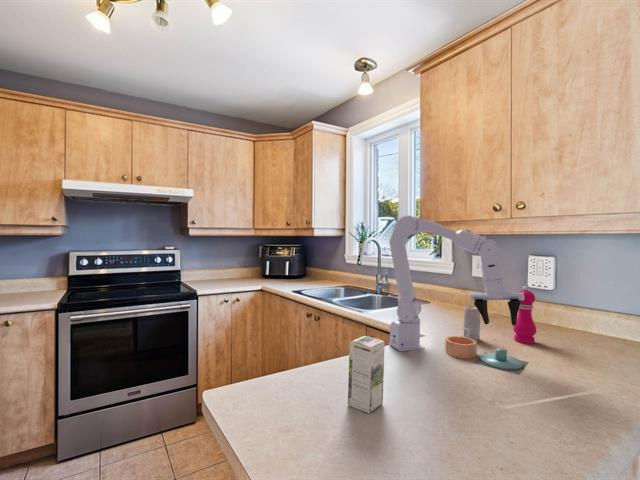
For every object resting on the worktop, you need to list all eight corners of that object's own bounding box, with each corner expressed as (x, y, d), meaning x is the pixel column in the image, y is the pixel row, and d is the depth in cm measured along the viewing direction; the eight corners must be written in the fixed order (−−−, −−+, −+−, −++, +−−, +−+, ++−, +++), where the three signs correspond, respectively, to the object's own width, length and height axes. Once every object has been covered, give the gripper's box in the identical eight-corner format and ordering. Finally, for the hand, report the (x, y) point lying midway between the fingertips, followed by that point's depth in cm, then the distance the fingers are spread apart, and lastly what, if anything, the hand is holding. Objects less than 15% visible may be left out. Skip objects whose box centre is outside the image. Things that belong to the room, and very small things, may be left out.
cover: (501, 371, 94) (501, 358, 94) (472, 357, 104) (472, 345, 104) (531, 367, 97) (532, 354, 97) (500, 354, 108) (500, 342, 108)
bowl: (458, 360, 103) (458, 346, 103) (439, 350, 111) (439, 337, 111) (482, 358, 105) (483, 343, 105) (462, 348, 114) (462, 335, 114)
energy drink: (476, 338, 126) (477, 306, 125) (481, 343, 120) (482, 309, 120) (461, 337, 126) (462, 305, 126) (466, 342, 121) (466, 308, 120)
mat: (473, 364, 100) (473, 362, 100) (485, 353, 109) (485, 352, 109) (519, 376, 92) (519, 374, 92) (528, 363, 101) (528, 362, 101)
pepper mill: (539, 345, 119) (541, 288, 118) (516, 343, 120) (518, 287, 120) (531, 339, 126) (532, 285, 125) (509, 337, 127) (511, 284, 127)
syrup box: (361, 396, 79) (362, 334, 79) (383, 404, 76) (385, 340, 75) (347, 405, 75) (348, 340, 75) (370, 415, 71) (371, 346, 71)
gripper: (523, 276, 101) (531, 322, 101) (473, 278, 111) (480, 320, 111) (517, 279, 96) (524, 327, 95) (465, 281, 106) (472, 325, 105)
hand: (500, 324), depth 103 cm, fingers open, 7 cm apart
